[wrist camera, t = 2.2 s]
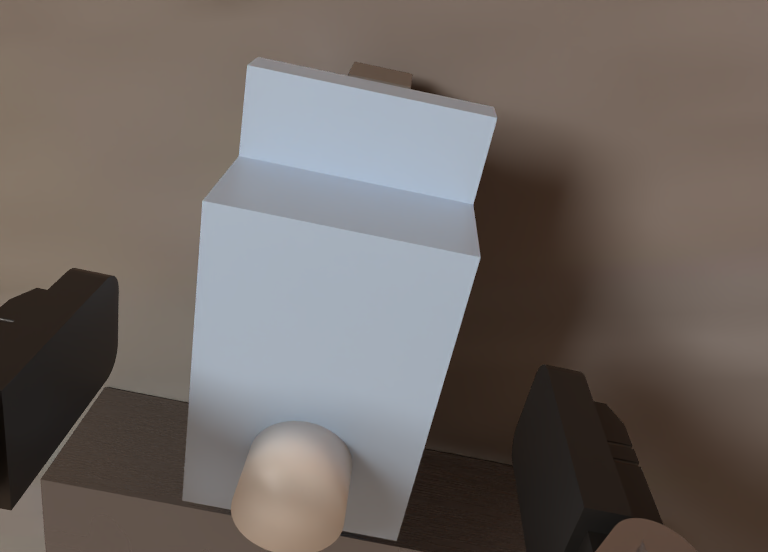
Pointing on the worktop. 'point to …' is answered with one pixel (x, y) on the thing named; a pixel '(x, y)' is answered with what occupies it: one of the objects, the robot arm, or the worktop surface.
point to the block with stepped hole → (215, 525)
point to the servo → (330, 300)
